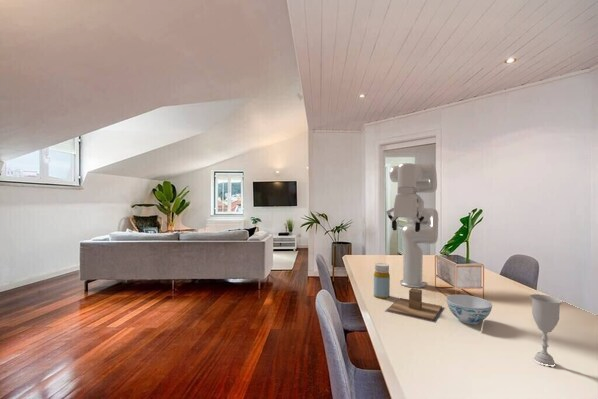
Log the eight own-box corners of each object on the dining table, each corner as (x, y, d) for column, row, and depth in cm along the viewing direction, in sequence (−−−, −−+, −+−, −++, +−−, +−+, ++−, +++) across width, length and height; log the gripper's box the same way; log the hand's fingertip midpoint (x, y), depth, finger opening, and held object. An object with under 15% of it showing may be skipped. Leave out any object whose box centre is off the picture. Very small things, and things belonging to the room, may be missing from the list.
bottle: (387, 295, 146) (388, 263, 145) (390, 300, 139) (391, 266, 138) (372, 294, 146) (373, 262, 146) (374, 299, 139) (375, 266, 139)
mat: (398, 299, 139) (398, 298, 139) (445, 308, 129) (445, 307, 129) (384, 312, 124) (384, 311, 124) (435, 323, 113) (435, 322, 113)
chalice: (522, 356, 90) (523, 294, 90) (544, 355, 91) (545, 294, 91) (544, 370, 83) (545, 303, 83) (568, 369, 84) (569, 302, 83)
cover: (400, 299, 138) (400, 282, 138) (441, 307, 128) (442, 289, 128) (387, 311, 124) (387, 291, 124) (433, 321, 114) (433, 300, 114)
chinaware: (489, 318, 119) (489, 298, 119) (494, 333, 105) (495, 310, 105) (445, 311, 125) (446, 292, 125) (446, 325, 112) (446, 303, 112)
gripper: (429, 192, 134) (428, 232, 133) (390, 192, 144) (389, 229, 143) (424, 191, 128) (424, 232, 127) (384, 191, 138) (383, 230, 137)
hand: (405, 231), depth 135 cm, fingers open, 9 cm apart
